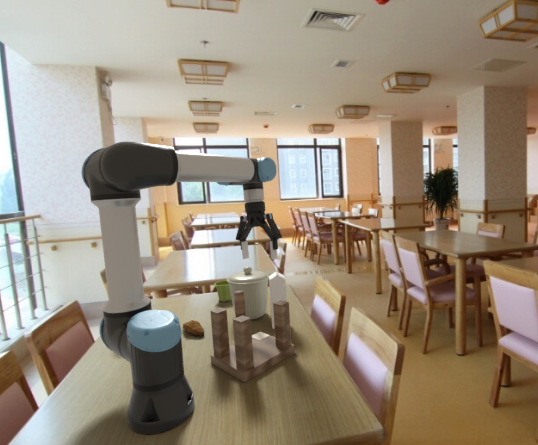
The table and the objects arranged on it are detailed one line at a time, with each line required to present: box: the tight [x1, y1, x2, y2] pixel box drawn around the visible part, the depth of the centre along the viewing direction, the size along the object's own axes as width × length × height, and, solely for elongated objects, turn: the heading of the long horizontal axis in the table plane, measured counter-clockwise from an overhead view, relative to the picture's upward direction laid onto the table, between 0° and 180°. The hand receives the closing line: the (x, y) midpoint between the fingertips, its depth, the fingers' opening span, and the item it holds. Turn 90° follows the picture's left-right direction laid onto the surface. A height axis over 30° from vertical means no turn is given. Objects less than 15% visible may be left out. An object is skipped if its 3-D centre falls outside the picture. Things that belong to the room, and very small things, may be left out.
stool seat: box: [210, 300, 296, 383], centre depth 98 cm, size 21×16×16 cm
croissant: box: [182, 320, 205, 338], centre depth 120 cm, size 14×7×5 cm, turn 44°
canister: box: [226, 266, 270, 321], centre depth 133 cm, size 18×18×21 cm
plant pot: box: [214, 279, 232, 303], centre depth 157 cm, size 9×9×9 cm
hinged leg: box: [234, 291, 246, 318], centre depth 106 cm, size 11×4×15 cm, turn 5°
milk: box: [268, 268, 288, 330], centre depth 121 cm, size 6×6×22 cm
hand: (259, 258), depth 117 cm, fingers open, 13 cm apart
